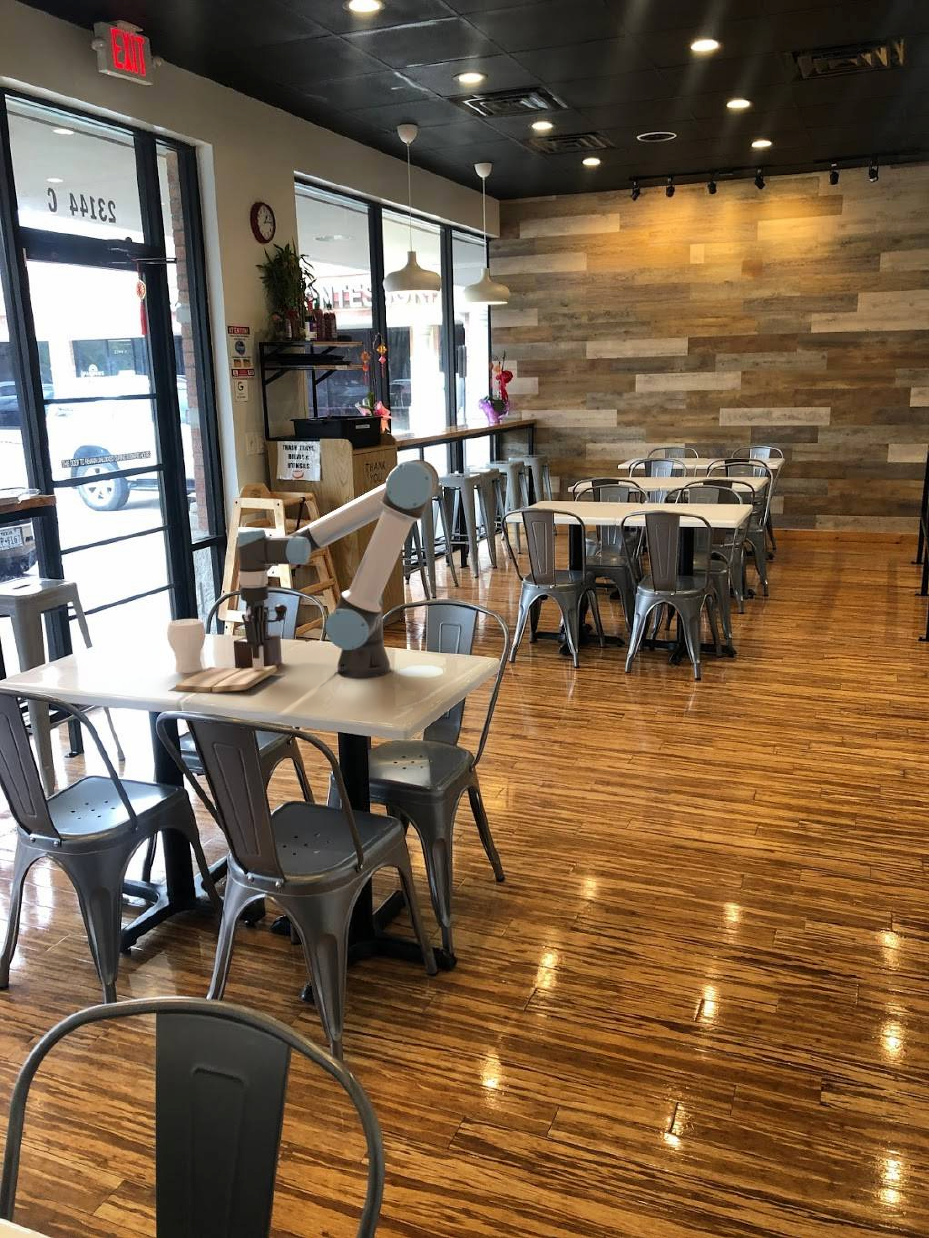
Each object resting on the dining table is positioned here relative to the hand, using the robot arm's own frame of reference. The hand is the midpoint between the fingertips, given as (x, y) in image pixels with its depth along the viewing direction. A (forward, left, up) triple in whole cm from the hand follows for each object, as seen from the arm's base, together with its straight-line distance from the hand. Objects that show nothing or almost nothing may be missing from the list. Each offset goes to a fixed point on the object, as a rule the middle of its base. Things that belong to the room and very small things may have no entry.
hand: (258, 668), depth 293 cm
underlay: (+7, +6, -4) cm, 10 cm away
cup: (+25, -6, -4) cm, 26 cm away
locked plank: (+12, +6, -3) cm, 14 cm away
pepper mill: (+6, -16, -4) cm, 18 cm away
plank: (+1, +6, -2) cm, 6 cm away
